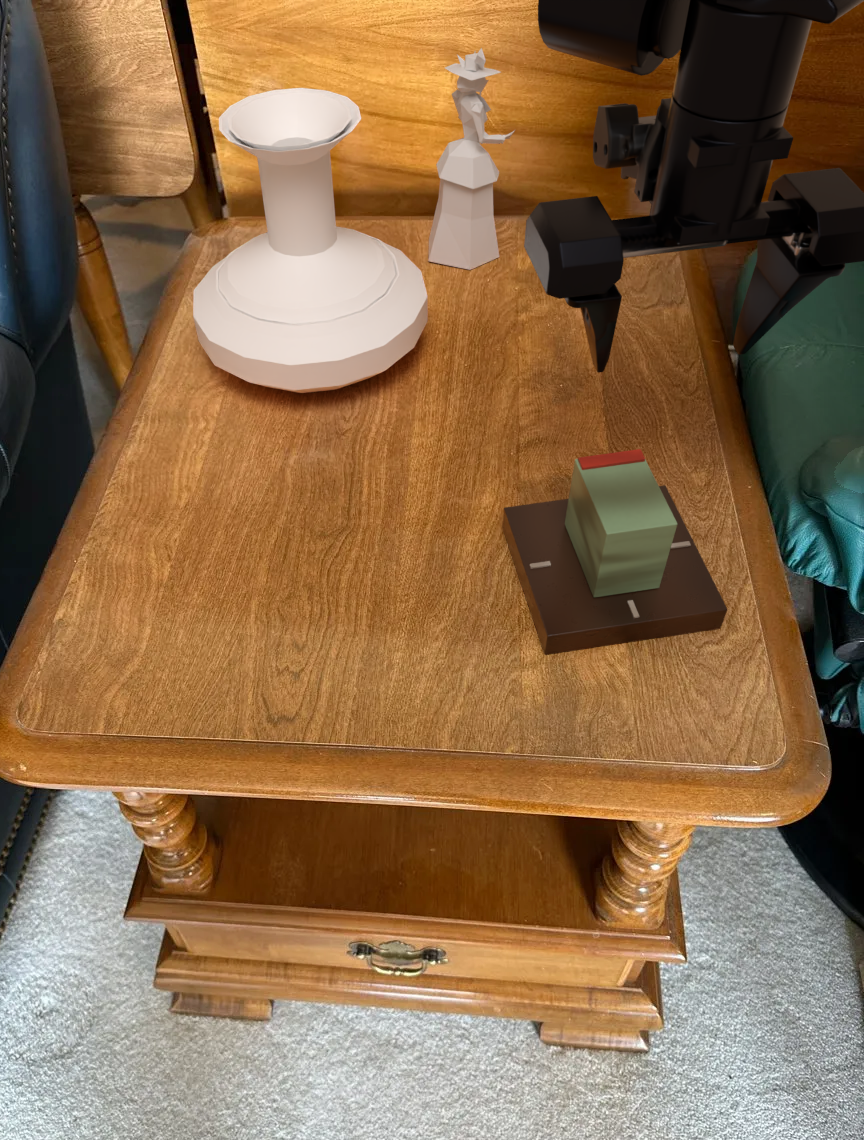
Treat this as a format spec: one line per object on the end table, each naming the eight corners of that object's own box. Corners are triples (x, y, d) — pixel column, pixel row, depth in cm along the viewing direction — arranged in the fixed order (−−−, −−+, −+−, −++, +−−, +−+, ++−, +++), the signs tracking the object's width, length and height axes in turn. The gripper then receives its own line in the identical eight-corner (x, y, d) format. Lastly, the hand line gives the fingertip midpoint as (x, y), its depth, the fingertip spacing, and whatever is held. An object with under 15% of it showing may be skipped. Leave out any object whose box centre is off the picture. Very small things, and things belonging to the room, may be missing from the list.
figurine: (516, 248, 93) (532, 44, 79) (453, 278, 90) (458, 72, 76) (469, 221, 97) (476, 21, 83) (407, 248, 94) (403, 46, 80)
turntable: (660, 504, 71) (666, 483, 69) (720, 628, 63) (728, 607, 62) (501, 527, 70) (503, 505, 68) (544, 655, 62) (547, 634, 61)
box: (659, 588, 63) (679, 520, 58) (593, 598, 63) (607, 531, 58) (626, 515, 67) (641, 446, 62) (564, 524, 67) (574, 455, 62)
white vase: (418, 423, 77) (415, 188, 62) (178, 414, 79) (119, 183, 64) (435, 286, 90) (436, 61, 75) (227, 281, 92) (187, 61, 76)
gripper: (835, 18, 54) (759, 273, 66) (511, 52, 52) (495, 306, 65) (936, 103, 47) (831, 370, 59) (566, 145, 46) (537, 408, 58)
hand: (668, 359), depth 60 cm, fingers open, 9 cm apart
